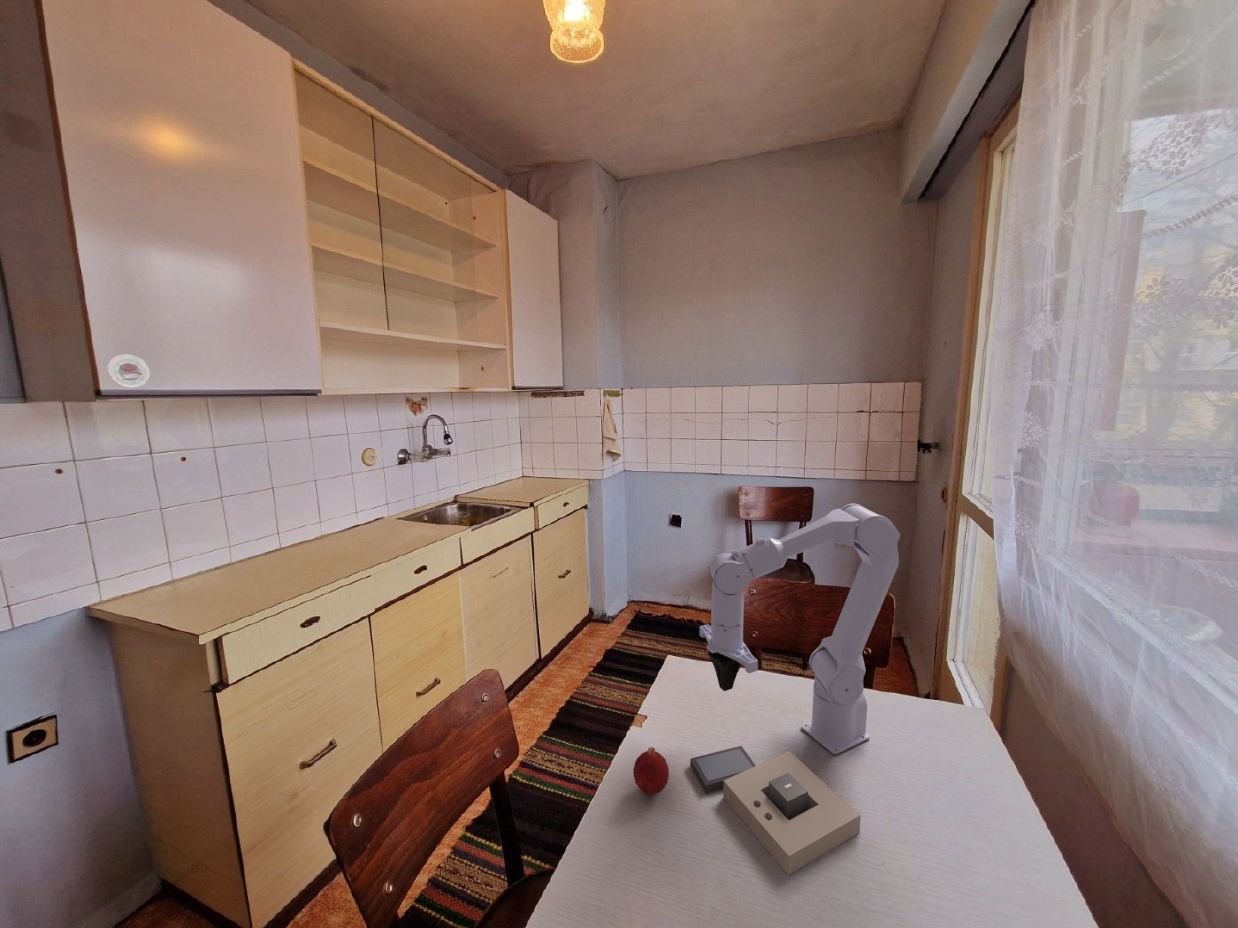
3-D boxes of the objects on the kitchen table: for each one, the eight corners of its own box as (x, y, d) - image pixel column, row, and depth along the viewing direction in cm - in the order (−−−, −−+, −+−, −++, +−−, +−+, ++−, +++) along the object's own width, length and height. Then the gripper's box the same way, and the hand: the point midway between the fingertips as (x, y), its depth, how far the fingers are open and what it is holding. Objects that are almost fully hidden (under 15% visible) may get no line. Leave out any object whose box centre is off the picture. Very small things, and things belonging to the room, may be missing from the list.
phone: (741, 755, 86) (741, 745, 86) (759, 781, 80) (759, 770, 80) (690, 768, 83) (690, 757, 83) (705, 795, 77) (705, 784, 77)
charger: (787, 800, 76) (788, 771, 75) (806, 820, 72) (808, 790, 71) (767, 809, 74) (768, 780, 73) (786, 830, 71) (787, 800, 70)
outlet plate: (788, 766, 82) (789, 750, 82) (859, 832, 70) (860, 813, 69) (723, 796, 77) (723, 779, 76) (788, 875, 64) (789, 855, 64)
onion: (667, 810, 74) (666, 765, 73) (630, 804, 75) (630, 760, 74) (670, 780, 80) (670, 738, 79) (636, 776, 81) (636, 733, 80)
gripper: (686, 608, 91) (686, 673, 94) (735, 643, 78) (734, 717, 81) (716, 601, 94) (715, 663, 96) (768, 633, 81) (766, 705, 84)
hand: (726, 687), depth 89 cm, fingers closed
